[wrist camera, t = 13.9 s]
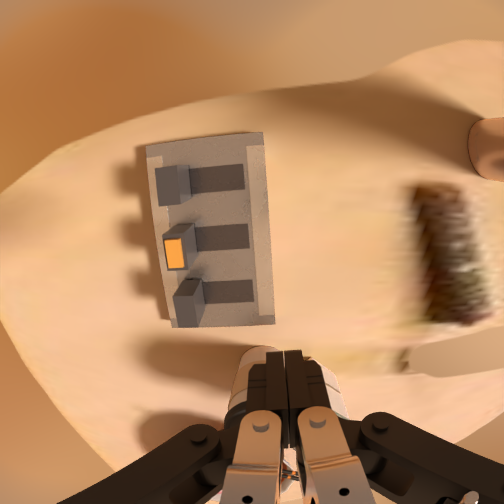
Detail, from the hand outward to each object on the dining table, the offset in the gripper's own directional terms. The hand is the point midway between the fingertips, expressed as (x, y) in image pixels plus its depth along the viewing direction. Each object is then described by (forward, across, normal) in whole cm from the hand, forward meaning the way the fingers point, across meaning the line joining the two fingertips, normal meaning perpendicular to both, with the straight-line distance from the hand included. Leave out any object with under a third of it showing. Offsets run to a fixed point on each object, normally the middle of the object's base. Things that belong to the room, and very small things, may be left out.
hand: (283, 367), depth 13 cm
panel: (+27, +7, 0) cm, 28 cm away
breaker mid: (+25, +10, 0) cm, 27 cm away
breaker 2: (+25, +10, +7) cm, 28 cm away
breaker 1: (+25, +10, -7) cm, 28 cm away
